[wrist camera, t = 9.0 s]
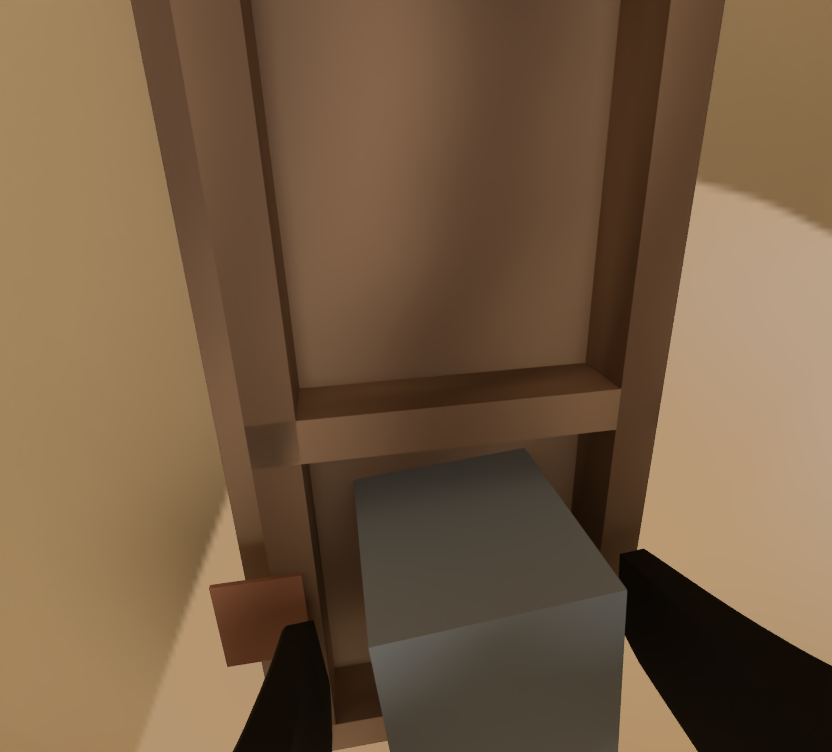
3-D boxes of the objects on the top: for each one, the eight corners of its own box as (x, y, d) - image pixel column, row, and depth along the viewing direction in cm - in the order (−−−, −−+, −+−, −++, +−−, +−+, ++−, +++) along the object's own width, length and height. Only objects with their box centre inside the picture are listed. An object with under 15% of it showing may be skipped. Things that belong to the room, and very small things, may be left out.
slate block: (524, 447, 13) (627, 590, 9) (529, 579, 15) (617, 755, 11) (353, 479, 13) (368, 648, 8) (378, 612, 15) (402, 811, 10)
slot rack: (704, -105, 10) (818, -188, 8) (601, 635, 18) (644, 707, 15) (99, -131, 9) (14, -244, 6) (265, 691, 16) (254, 782, 14)
